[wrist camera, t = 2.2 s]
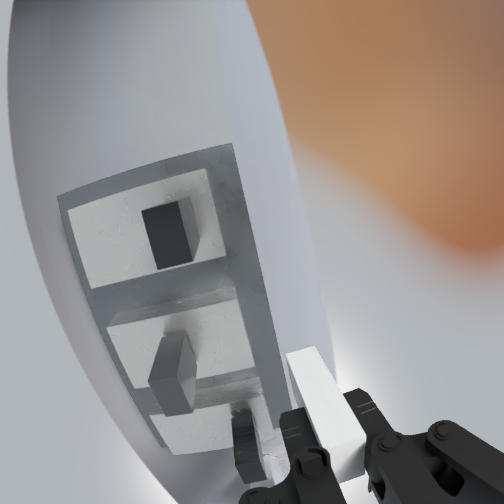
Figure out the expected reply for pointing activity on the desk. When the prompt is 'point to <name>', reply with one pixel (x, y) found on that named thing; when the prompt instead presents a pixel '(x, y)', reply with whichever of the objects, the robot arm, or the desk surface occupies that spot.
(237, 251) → the breaker panel
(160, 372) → the breaker
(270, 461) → the milkshake
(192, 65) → the desk surface
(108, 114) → the desk surface
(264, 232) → the desk surface
